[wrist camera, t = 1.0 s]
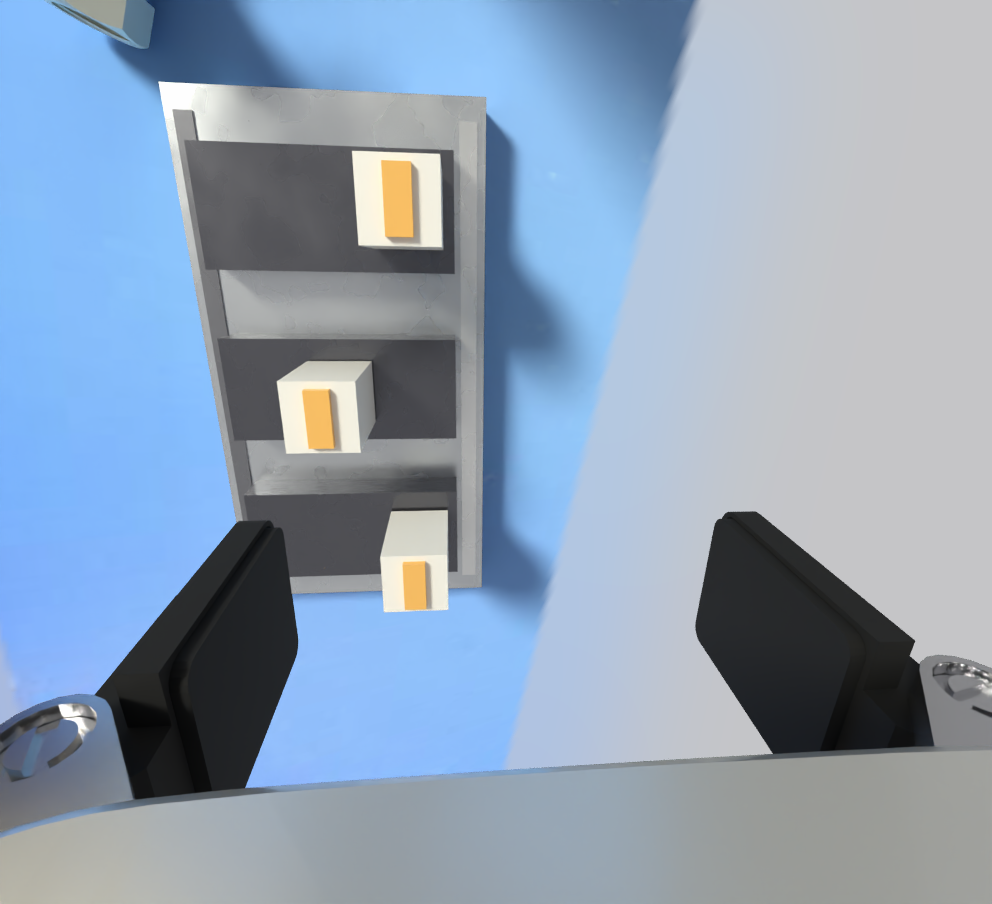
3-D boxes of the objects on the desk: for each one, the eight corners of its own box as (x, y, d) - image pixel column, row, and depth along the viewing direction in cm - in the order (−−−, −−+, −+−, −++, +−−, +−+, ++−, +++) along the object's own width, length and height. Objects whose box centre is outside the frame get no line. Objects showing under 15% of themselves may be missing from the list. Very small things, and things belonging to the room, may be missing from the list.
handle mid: (307, 361, 24) (274, 383, 20) (371, 361, 24) (353, 382, 20) (313, 421, 25) (283, 456, 21) (375, 421, 25) (359, 455, 21)
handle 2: (391, 511, 27) (379, 560, 23) (447, 510, 27) (447, 558, 23) (394, 560, 28) (383, 616, 24) (448, 558, 28) (448, 613, 24)
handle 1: (371, 172, 22) (350, 148, 17) (442, 175, 22) (439, 152, 17) (375, 248, 23) (357, 245, 18) (443, 250, 23) (441, 246, 18)
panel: (181, 96, 24) (131, 64, 20) (483, 109, 25) (489, 82, 21) (260, 576, 33) (236, 616, 29) (479, 569, 34) (483, 607, 30)
